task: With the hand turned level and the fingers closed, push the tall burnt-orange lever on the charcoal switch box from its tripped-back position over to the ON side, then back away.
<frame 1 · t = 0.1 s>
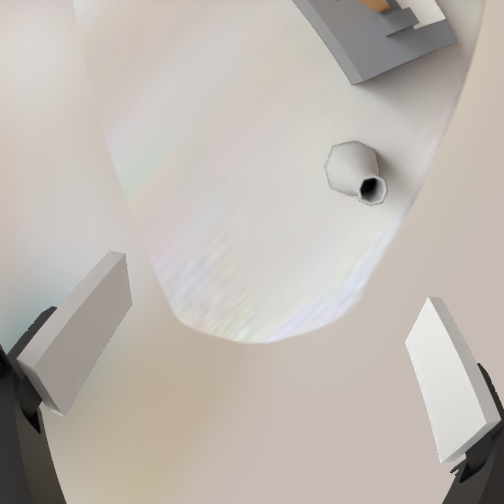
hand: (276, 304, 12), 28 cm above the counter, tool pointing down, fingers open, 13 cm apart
switch box: (358, 4, 26), on the counter
flask: (351, 167, 36), on the counter
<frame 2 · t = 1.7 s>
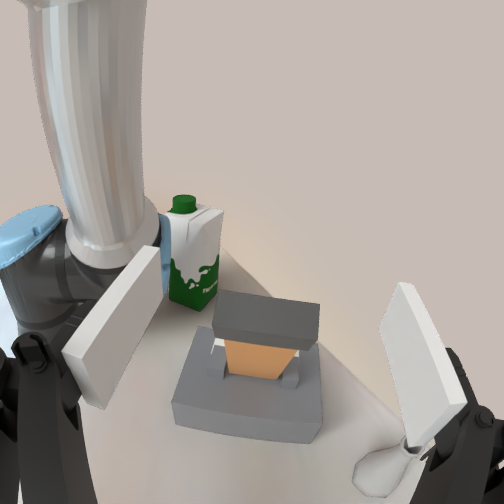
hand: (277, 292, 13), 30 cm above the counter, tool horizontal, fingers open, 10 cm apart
switch box: (248, 396, 40), on the counter
lever: (258, 351, 28), point 16 cm above the counter, hinge at -28.0°
milk carton: (193, 297, 60), on the counter
flask: (375, 476, 29), on the counter
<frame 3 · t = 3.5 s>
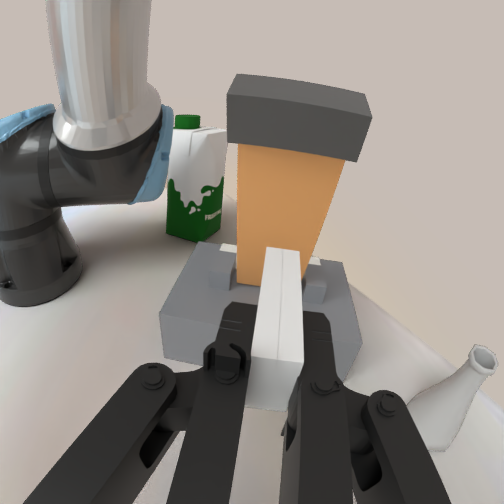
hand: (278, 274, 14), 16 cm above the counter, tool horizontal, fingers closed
switch box: (259, 327, 34), on the counter
lever: (280, 215, 22), point 16 cm above the counter, hinge at -28.0°
milk carton: (193, 232, 53), on the counter
flask: (428, 424, 23), on the counter
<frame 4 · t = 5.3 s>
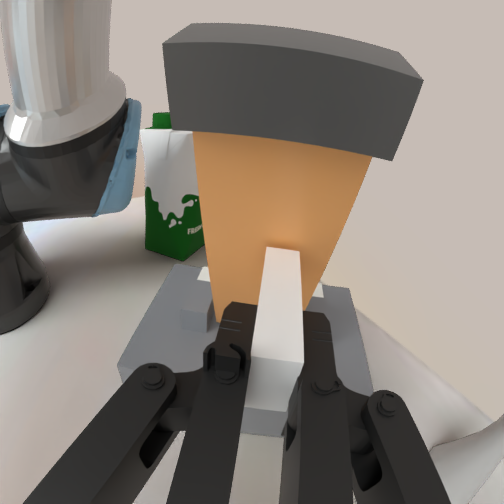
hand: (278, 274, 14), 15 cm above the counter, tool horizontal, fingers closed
switch box: (248, 369, 27), on the counter
lever: (268, 242, 15), point 16 cm above the counter, hinge at -26.8°, touching gripper
milk carton: (176, 246, 46), on the counter
flask: (445, 480, 16), on the counter
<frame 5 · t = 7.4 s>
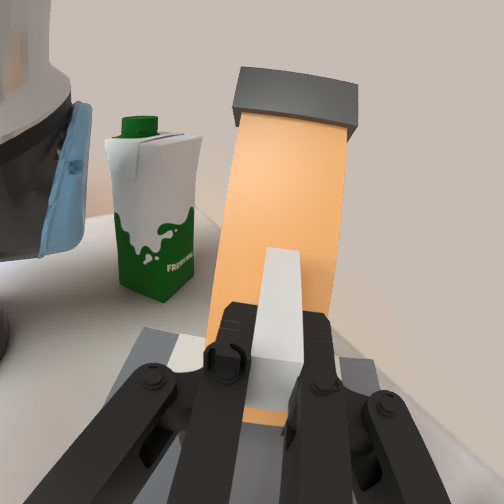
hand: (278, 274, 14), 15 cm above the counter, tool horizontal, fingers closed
switch box: (240, 463, 18), on the counter
lever: (278, 243, 16), point 15 cm above the counter, hinge at 31.9°, touching gripper
milk carton: (157, 281, 38), on the counter
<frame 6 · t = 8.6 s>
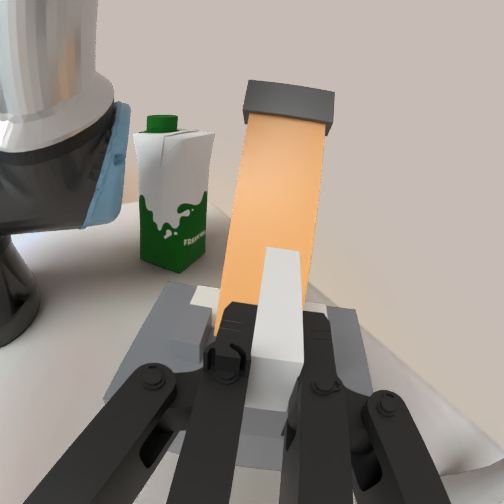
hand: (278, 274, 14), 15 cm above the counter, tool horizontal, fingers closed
switch box: (246, 396, 25), on the counter
lever: (275, 205, 22), point 15 cm above the counter, hinge at 31.9°
milk carton: (173, 257, 44), on the counter
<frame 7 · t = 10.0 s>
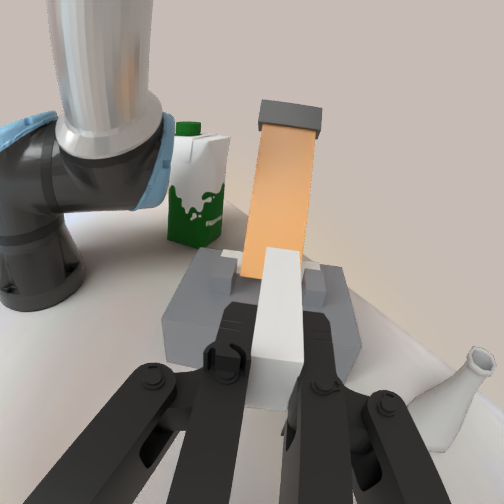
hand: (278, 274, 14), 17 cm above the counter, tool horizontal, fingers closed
switch box: (260, 331, 34), on the counter
lever: (281, 187, 32), point 15 cm above the counter, hinge at 31.9°
milk carton: (194, 238, 54), on the counter
flask: (428, 426, 23), on the counter
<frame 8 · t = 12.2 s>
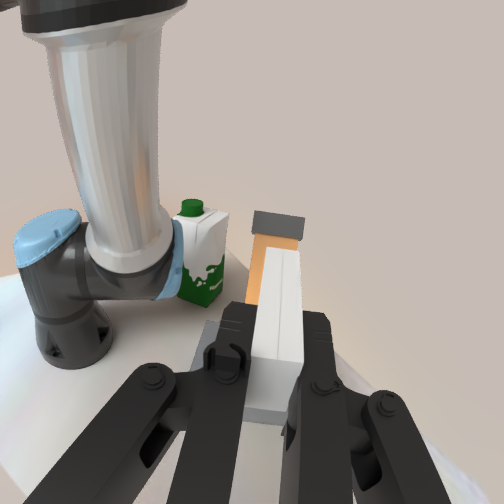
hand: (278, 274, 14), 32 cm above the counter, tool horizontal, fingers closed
switch box: (253, 385, 45), on the counter
lever: (269, 286, 42), point 15 cm above the counter, hinge at 31.9°
milk carton: (200, 294, 64), on the counter
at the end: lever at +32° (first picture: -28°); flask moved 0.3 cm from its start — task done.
